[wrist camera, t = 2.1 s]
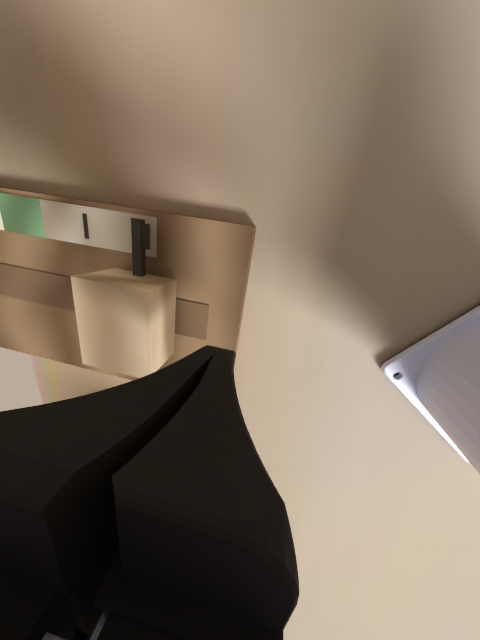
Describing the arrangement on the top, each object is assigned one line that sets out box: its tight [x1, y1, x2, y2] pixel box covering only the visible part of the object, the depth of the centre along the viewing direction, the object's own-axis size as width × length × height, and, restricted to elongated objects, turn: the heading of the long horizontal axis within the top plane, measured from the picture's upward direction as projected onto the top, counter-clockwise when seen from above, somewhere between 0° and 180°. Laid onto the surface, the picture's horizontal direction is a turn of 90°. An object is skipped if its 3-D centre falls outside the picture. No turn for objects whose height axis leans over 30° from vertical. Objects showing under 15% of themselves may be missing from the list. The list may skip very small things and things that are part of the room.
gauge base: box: [0, 187, 256, 380], centre depth 14 cm, size 24×12×5 cm, turn 82°
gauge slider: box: [70, 218, 177, 378], centre depth 12 cm, size 4×8×3 cm, turn 172°
